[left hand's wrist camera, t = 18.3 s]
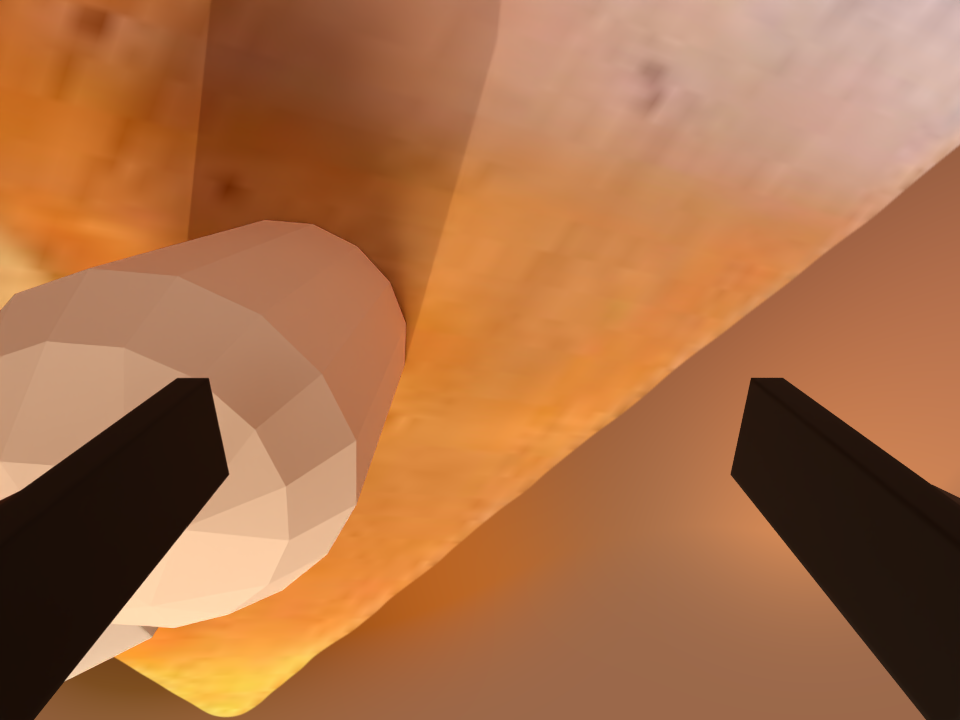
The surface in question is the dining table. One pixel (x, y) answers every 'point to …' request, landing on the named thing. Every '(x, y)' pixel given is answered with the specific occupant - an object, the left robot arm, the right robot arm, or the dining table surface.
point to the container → (217, 394)
